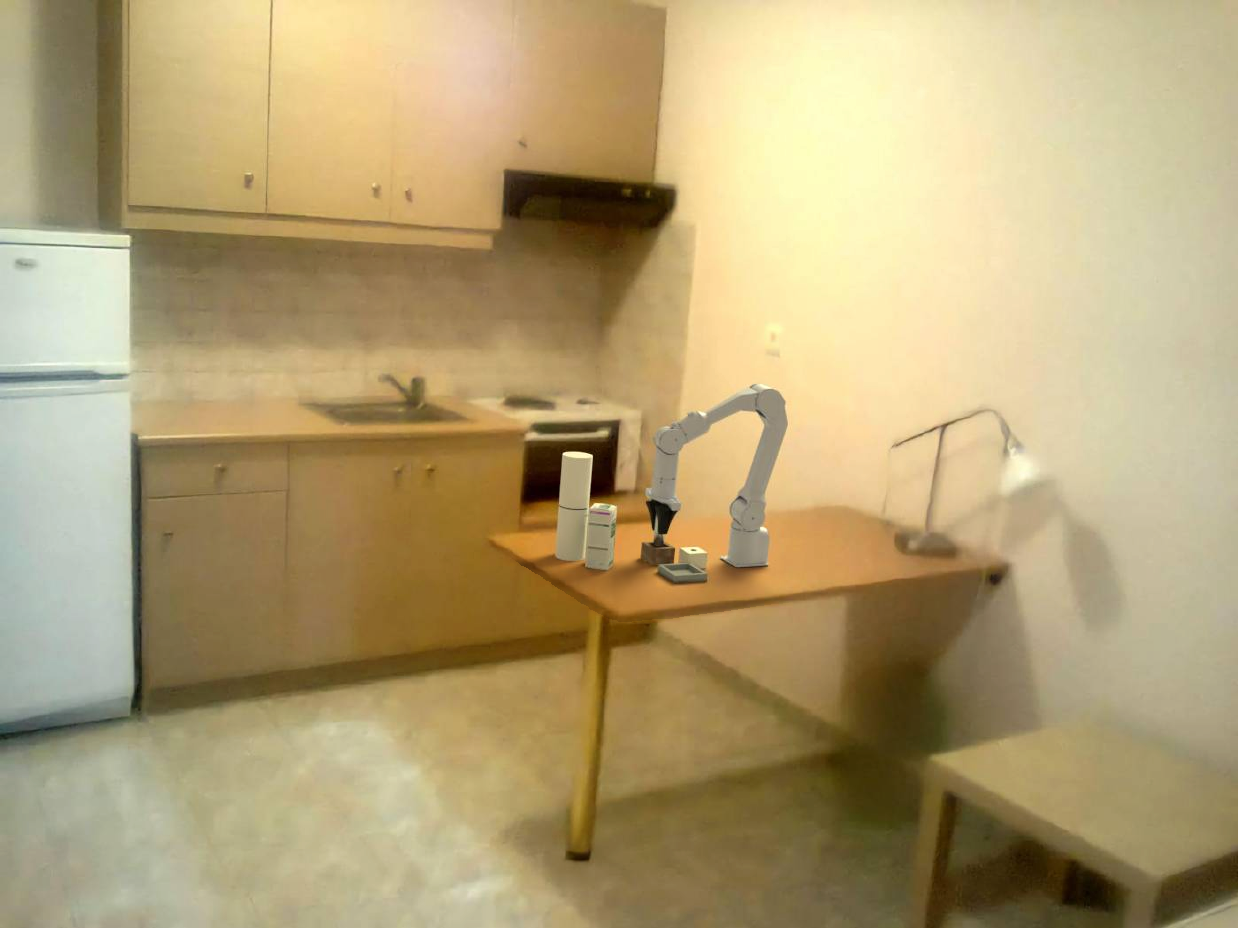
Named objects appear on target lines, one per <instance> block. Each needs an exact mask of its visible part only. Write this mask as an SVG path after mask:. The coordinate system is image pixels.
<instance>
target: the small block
mask: <svg viewBox="0 0 1238 928" xmlns="http://www.w3.org/2000/svg"><path fill="white" fill-rule="evenodd" d="M678 553H679V554H678V562H677V563H691V564H693V565H694V566H696V567H698V568H699V569H701V570H703V569H707V565H708V564H707V563H708V552H707V551H706V550H704V549H702V548H700V547H699V546H690V547H689V546H688V547H679V552H678Z"/></svg>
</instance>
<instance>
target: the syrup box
mask: <svg viewBox="0 0 1238 928" xmlns="http://www.w3.org/2000/svg"><path fill="white" fill-rule="evenodd" d="M617 511H618V506H617V505H615V504H611V503H610V504H609V503H604V502H603V503H600V502H599V503H598V502H597V503H596V502H594V503H593V504H592V505H591V506H589V509H588V523H587V536H586V549H585V559H584V567H585V568H588V569H594V570H601V571H609V569H611V567H612V566H613V564H614V556H615V545H616V544H615V543H616V531H617V530H616V529H617V513H618V512H617Z"/></svg>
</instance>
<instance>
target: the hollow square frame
mask: <svg viewBox="0 0 1238 928" xmlns="http://www.w3.org/2000/svg"><path fill="white" fill-rule="evenodd" d="M675 553H676V547H674V546H673V545H671V544H670V543H668V542H666V541H665V540H664V545H663V546H656V545H653V541H641V550H640V559H641V558H642V559H641V560H642V561H644V560H645V561H644V562H646V563H647V564H649V565H651V566H658V565H660V564H675V556H676V554H675Z"/></svg>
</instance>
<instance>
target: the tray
mask: <svg viewBox="0 0 1238 928" xmlns="http://www.w3.org/2000/svg"><path fill="white" fill-rule="evenodd" d="M657 573H658V574H660V575H662V576H663V577H664V578H666V579H668V580H669V581H670V582H672V583H673V584H684V583H685V584H686V583H697V582H700V583H701V582H708V573H707V572H705V570H703V569H699V568H698V567H696V566H694V565H693V564H691V563H678V562H677V563H674V564H660V565H657Z"/></svg>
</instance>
